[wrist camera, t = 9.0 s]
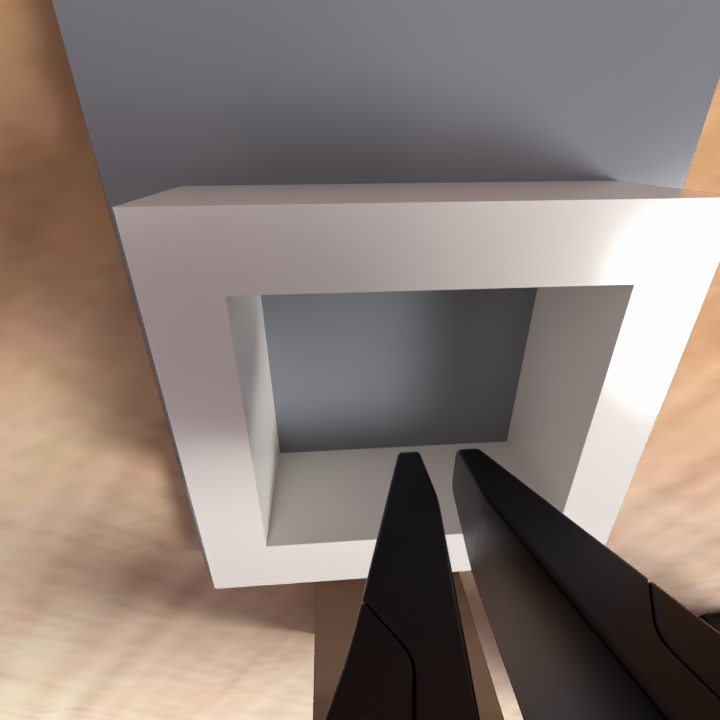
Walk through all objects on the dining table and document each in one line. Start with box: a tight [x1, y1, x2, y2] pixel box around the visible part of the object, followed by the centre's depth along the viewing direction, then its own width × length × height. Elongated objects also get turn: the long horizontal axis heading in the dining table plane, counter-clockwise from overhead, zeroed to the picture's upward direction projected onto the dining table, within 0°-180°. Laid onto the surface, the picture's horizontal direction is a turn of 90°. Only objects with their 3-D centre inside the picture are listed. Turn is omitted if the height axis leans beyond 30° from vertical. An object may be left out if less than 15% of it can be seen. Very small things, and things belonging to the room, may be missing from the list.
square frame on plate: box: [52, 0, 720, 589], centre depth 11 cm, size 18×14×4 cm
